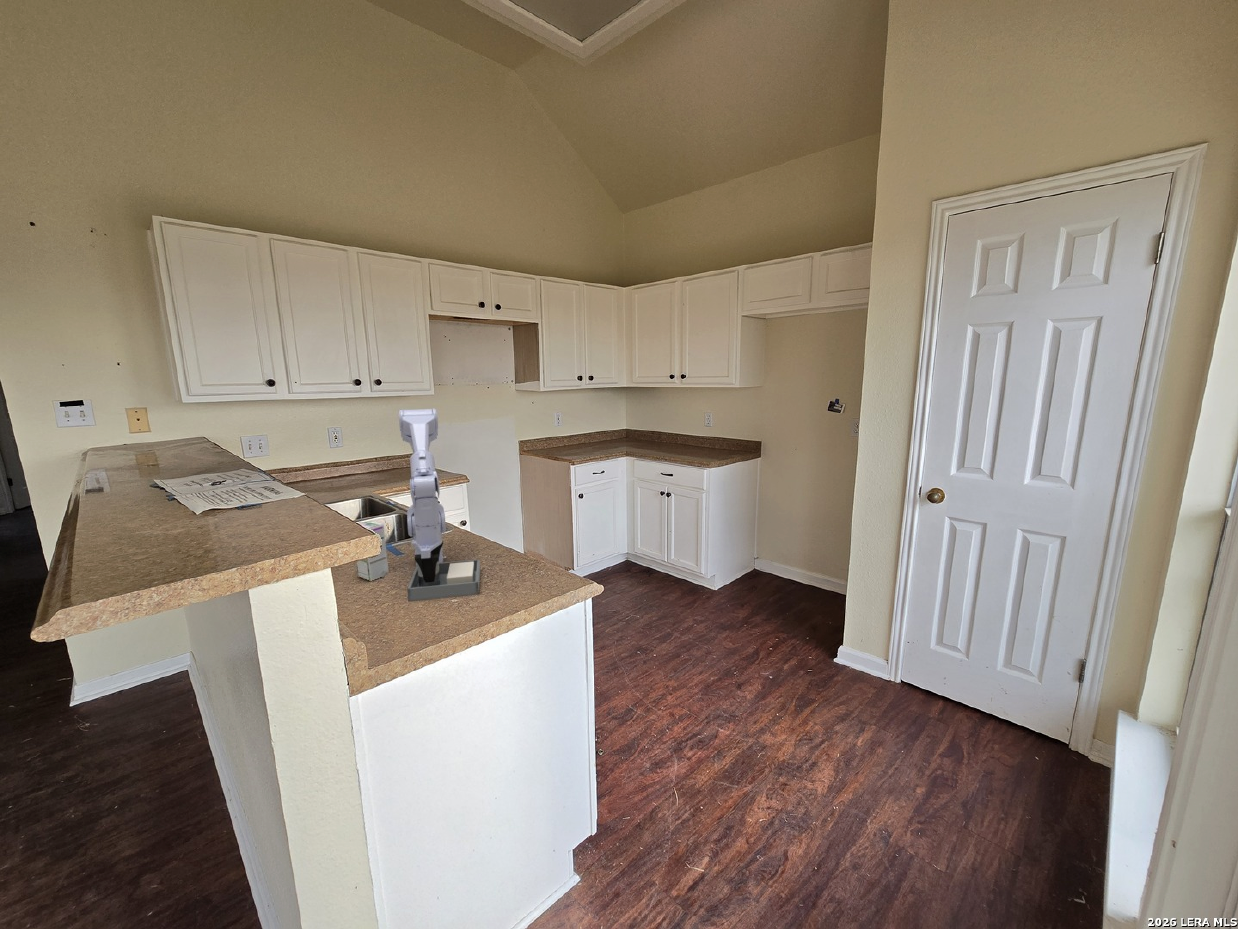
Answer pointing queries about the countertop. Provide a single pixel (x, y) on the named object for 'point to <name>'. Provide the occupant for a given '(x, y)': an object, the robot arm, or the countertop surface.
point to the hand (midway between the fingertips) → (431, 576)
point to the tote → (444, 584)
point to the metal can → (423, 584)
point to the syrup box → (378, 564)
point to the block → (460, 573)
